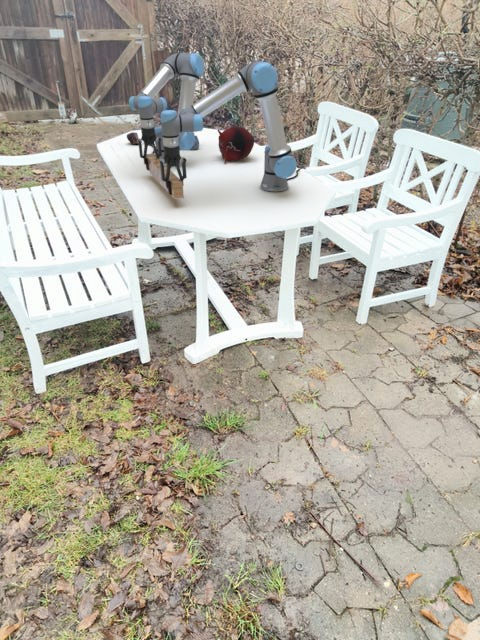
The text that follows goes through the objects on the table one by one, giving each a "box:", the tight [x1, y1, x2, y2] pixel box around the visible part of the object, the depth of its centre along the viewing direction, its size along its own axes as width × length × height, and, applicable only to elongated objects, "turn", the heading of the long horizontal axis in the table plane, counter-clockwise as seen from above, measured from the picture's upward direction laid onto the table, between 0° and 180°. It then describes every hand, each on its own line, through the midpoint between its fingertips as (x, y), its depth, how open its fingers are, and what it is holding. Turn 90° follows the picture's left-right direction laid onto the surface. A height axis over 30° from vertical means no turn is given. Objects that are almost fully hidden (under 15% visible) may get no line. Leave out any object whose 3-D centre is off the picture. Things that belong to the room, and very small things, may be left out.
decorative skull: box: [217, 125, 255, 165], centre depth 297 cm, size 21×24×25 cm
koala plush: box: [190, 135, 200, 151], centre depth 323 cm, size 17×18×20 cm
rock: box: [126, 132, 140, 145], centre depth 336 cm, size 12×9×10 cm
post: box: [146, 152, 185, 200], centre depth 245 cm, size 59×5×8 cm, turn 23°
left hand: (152, 169), depth 265 cm, fingers closed on post, 5 cm apart
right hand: (175, 193), depth 229 cm, fingers closed on post, 5 cm apart
